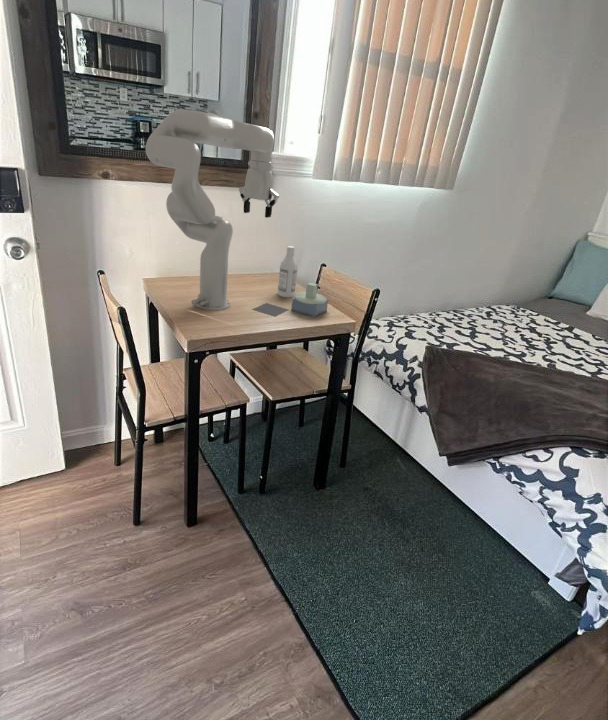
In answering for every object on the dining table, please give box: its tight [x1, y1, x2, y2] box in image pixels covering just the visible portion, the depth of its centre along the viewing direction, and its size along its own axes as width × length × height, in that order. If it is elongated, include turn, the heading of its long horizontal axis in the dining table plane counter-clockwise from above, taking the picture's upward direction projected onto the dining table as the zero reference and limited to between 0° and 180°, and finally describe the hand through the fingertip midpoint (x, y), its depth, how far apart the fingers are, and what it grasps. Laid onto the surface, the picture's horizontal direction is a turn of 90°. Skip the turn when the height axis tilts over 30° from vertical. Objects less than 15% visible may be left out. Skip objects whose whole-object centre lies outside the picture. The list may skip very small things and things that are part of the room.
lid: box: [294, 282, 328, 305], centre depth 168 cm, size 12×12×6 cm
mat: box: [251, 302, 290, 317], centre depth 167 cm, size 10×10×1 cm
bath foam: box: [277, 245, 298, 298], centre depth 181 cm, size 7×7×20 cm
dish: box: [291, 297, 329, 318], centre depth 170 cm, size 10×10×5 cm
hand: (257, 214), depth 172 cm, fingers open, 9 cm apart
